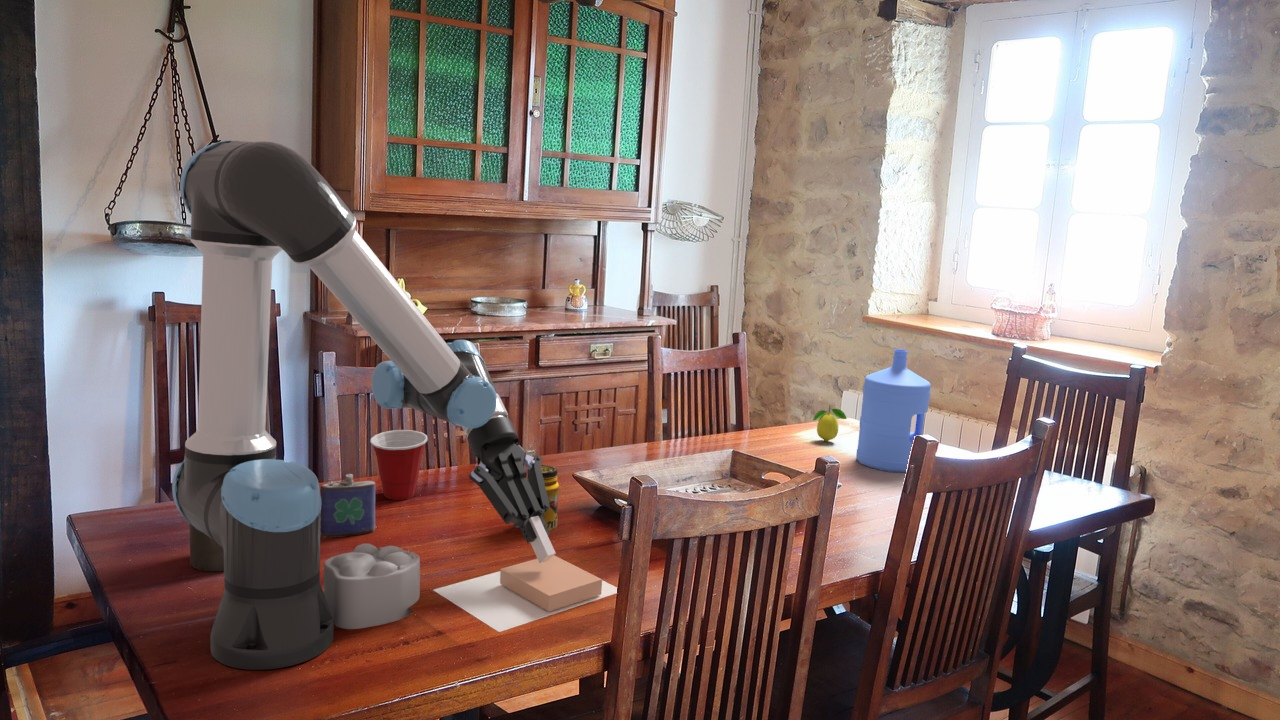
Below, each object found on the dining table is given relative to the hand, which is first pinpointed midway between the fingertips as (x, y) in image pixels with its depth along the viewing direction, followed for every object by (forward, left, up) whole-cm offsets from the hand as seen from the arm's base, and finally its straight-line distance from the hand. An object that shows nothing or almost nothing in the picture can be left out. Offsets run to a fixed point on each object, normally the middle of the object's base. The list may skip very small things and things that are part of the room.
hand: (547, 558), depth 143 cm
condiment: (+15, +22, -6) cm, 28 cm away
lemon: (+118, +32, -6) cm, 123 cm away
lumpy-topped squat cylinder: (-23, +11, -6) cm, 26 cm away
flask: (-12, +40, -6) cm, 43 cm away
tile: (0, +5, -3) cm, 6 cm away
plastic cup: (+5, +53, -6) cm, 54 cm away
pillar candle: (-33, +40, -6) cm, 53 cm away
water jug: (+114, +11, -6) cm, 115 cm away
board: (-3, +1, -6) cm, 7 cm away
